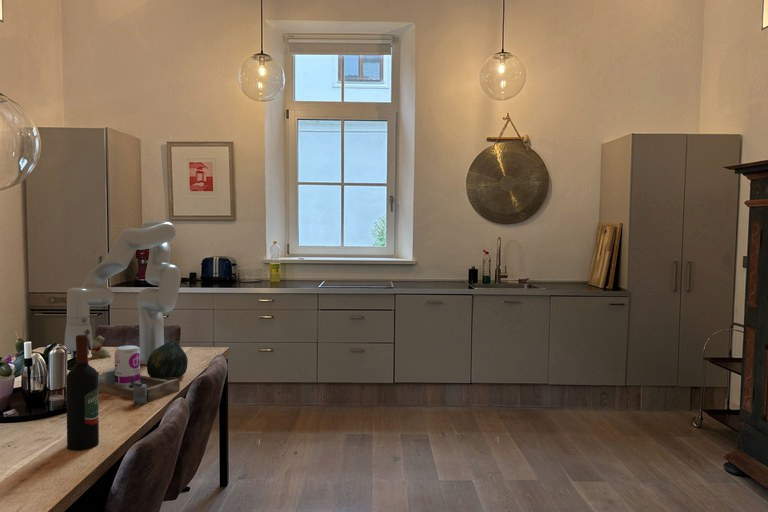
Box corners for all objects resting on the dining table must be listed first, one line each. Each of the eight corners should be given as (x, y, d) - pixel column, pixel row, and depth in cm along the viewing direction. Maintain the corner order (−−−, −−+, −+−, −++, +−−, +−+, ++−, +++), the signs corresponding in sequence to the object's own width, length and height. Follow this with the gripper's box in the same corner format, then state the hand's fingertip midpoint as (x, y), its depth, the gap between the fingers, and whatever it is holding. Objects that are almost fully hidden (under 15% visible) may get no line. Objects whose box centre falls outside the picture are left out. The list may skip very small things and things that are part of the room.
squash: (133, 364, 210) (153, 338, 205) (164, 357, 224) (183, 332, 219) (152, 393, 206) (173, 367, 201) (183, 384, 219) (202, 359, 215)
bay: (127, 380, 208) (127, 357, 207) (182, 390, 197) (182, 366, 197) (82, 394, 190) (82, 369, 190) (139, 406, 180) (139, 379, 179)
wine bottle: (75, 439, 152) (73, 332, 150) (103, 439, 153) (102, 332, 151) (61, 451, 145) (59, 338, 143) (91, 450, 145) (90, 338, 143)
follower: (101, 376, 210) (101, 361, 210) (128, 382, 205) (128, 366, 204) (77, 383, 201) (77, 367, 201) (105, 389, 196) (105, 372, 195)
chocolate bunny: (97, 355, 244) (97, 332, 243) (112, 356, 242) (112, 334, 241) (87, 358, 239) (87, 335, 238) (102, 359, 237) (102, 336, 236)
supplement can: (145, 386, 201) (144, 346, 200) (127, 393, 193) (127, 351, 192) (127, 383, 203) (127, 344, 202) (109, 390, 196) (109, 348, 195)
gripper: (101, 321, 207) (100, 369, 208) (73, 317, 213) (73, 364, 214) (83, 324, 200) (82, 373, 201) (55, 320, 206) (54, 368, 207)
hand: (77, 368), depth 207 cm, fingers closed
